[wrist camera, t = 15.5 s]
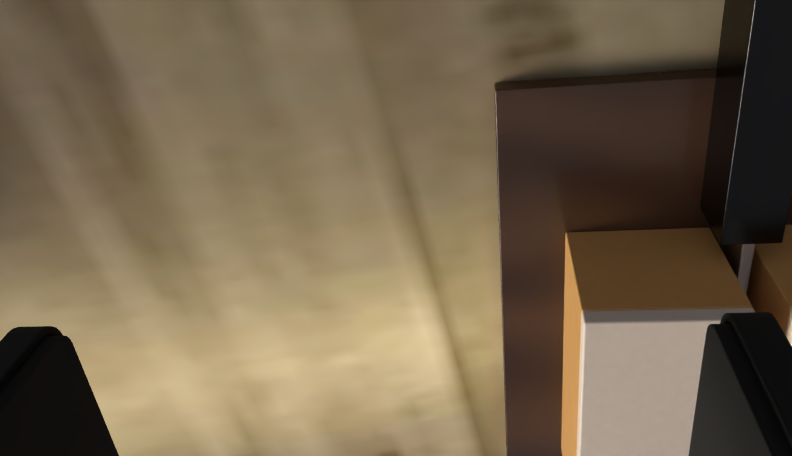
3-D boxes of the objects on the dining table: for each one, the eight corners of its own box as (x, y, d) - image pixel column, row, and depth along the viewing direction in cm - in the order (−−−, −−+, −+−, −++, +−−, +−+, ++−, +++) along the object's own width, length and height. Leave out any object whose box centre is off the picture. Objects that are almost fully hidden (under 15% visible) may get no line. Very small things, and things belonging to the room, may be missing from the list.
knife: (727, -26, 27) (756, -7, 24) (795, -32, 27) (832, -13, 24) (671, 435, 39) (686, 483, 36) (718, 435, 39) (736, 483, 36)
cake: (565, 231, 33) (583, 322, 27) (894, 220, 31) (989, 315, 26) (561, 447, 40) (575, 557, 34) (830, 448, 38) (893, 565, 32)
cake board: (494, 82, 31) (495, 90, 30) (1008, 49, 28) (1024, 57, 27) (506, 446, 42) (507, 460, 41) (878, 448, 39) (886, 462, 38)
